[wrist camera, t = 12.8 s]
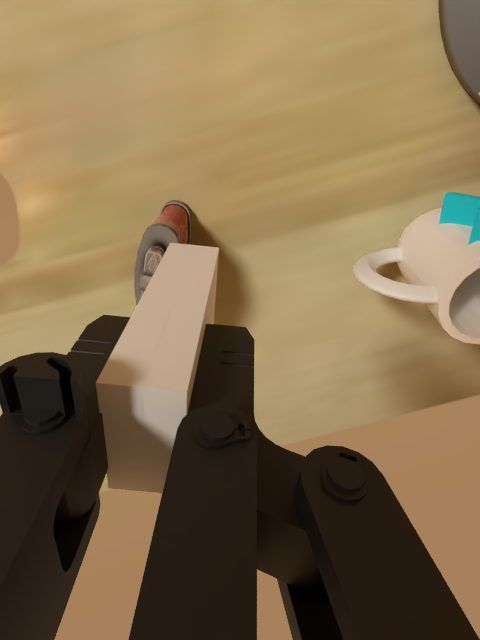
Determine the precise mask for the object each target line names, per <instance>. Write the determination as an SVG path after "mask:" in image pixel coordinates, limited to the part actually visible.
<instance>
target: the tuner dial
mask: <svg viewBox="0 0 480 640" xmlns="http://www.w3.org/2000/svg"><path fill="white" fill-rule="evenodd" d="M439 19H440V28H441V35H442V40H443V44H444V48H445V52H446V55H447V58H448V60H449V63H450V65H451V68H452V70H453V72H454V74H455V75H456V77H457V79H458V80H459V82H460V84H461V85H462V86H463V88H464V89H465V90H466V91H467V92H468V94H469V95H470V96H471V97H472V98H473V99H474V100H476V101H477V102H478V103H479V104H480V0H439Z"/></svg>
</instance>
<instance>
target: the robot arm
mask: <svg viewBox="0 0 480 640" xmlns="http://www.w3.org/2000/svg"><path fill="white" fill-rule="evenodd" d="M218 257H219V248H217V247H208V246H198V245H188V244H178V243H170V244H169V246H168V248H167V250H166V252H165V254H164V256H163V257H162V259H161V261H160V263H159V265H158V267H157V269H156V271H155V272H154V274H153V276H152V278H151V280H150V282H149V284H148V286H147V287H146V289H145V291H144V293H143V295H142V297H141V299H140V301H139V302H138V304H137V306H136V308H135V310H134V312H133V314H132V316H131V318H130V317H120V316H110V315H103V316H101V317H100V318H98V319H96V320H95V321H93V322H92V323H90V324H89V325H87V327H86V328H85V330H84V331H83V333H82V334H81V335H80V337H79V340H78V341H76V343H75V344H74V346H73V347H72V348H71V352H69V353H68V354H67V355H63V354H58V353H54V352H48V353H34V354H29V355H25V356H20V357H18V358H15V359H13V360H11V361H9V362H7V363H4V364H3V365H2V366H0V405H1V408H2V411H3V414H2V415H1V416H0V640H54V639H55V636H56V633H57V630H58V627H59V625H60V622H61V619H62V616H63V613H64V611H65V608H66V605H67V602H68V600H69V597H70V594H71V591H72V589H73V585H74V583H75V580H76V577H77V575H78V572H79V569H80V566H81V564H82V561H83V558H84V555H85V552H86V550H87V547H88V544H89V541H90V538H91V536H92V533H93V530H94V527H95V524H96V522H97V519H98V516H99V510H100V499H99V490H100V488H101V485H102V483H103V480H104V477H105V475H106V472H107V478H108V486H109V488H113V489H125V490H136V491H147V492H158V493H162V497H161V502H160V506H159V510H158V515H157V519H156V523H155V528H154V532H153V536H152V541H151V545H150V549H149V554H148V558H147V562H146V567H145V571H144V575H143V580H142V584H141V588H140V593H139V597H138V601H137V606H136V610H135V614H134V619H133V623H132V627H131V632H130V636H129V640H257V569H258V570H260V571H262V572H264V573H266V574H269V575H271V576H273V577H275V578H277V580H278V584H279V588H280V592H281V596H282V599H283V603H284V607H285V611H286V615H287V619H288V623H289V626H290V630H291V634H292V638H293V640H480V639H479V638H478V636H477V634H476V633H475V631H474V629H473V627H472V626H471V624H470V622H469V621H468V619H467V617H466V615H465V614H464V612H463V610H462V609H461V607H460V605H459V604H458V602H457V600H456V598H455V597H454V595H453V594H452V592H451V590H450V588H449V587H448V585H447V583H446V581H445V580H444V578H443V576H442V575H441V573H440V571H439V570H438V568H437V566H436V565H435V563H434V561H433V559H432V558H431V556H430V554H429V552H428V551H427V549H426V548H425V546H424V544H423V542H422V541H421V539H420V537H419V535H418V534H417V532H416V530H415V529H414V527H413V525H412V524H411V522H410V520H409V518H408V517H407V515H406V513H405V512H404V510H403V508H402V507H401V505H400V503H399V501H398V500H397V498H396V496H395V495H394V493H393V491H392V490H391V488H390V486H389V485H388V483H387V481H386V479H385V478H384V476H383V475H382V473H381V472H380V471H379V470H378V468H377V467H376V466H375V465H374V464H373V462H371V461H370V460H369V459H367V458H366V457H364V456H363V455H361V454H360V453H359V452H356V451H353V450H350V449H348V448H345V447H342V446H324V447H320V448H317V449H314V450H313V451H311V452H310V453H309V454H308V455H307V456H306V457H305V456H302V455H299V454H297V453H294V452H291V451H289V450H286V449H284V448H282V447H280V446H278V445H276V444H274V443H273V442H272V441H270V440H269V439H268V438H266V437H265V436H264V435H263V433H262V432H261V431H260V430H259V428H258V426H257V424H256V422H255V418H254V339H253V337H252V336H251V334H250V333H249V331H248V330H247V328H246V327H236V326H226V325H216V324H214V313H215V299H216V285H217V271H218Z"/></svg>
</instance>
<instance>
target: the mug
mask: <svg viewBox="0 0 480 640" xmlns="http://www.w3.org/2000/svg"><path fill="white" fill-rule="evenodd" d="M392 262H397V264H398V267H399V269H400V271H401V273H402V275H403V276H404V277H405V279H406V280H407V281H408V283H409V284H405V283H401V282H397V281H393V280H391V279H388V278H385V277H383V276H381V275H379V274H378V273H377V272H376V270H377V268H378V267H380V266H382V265H384V264H387V263H392ZM353 272H354V276H355V277H356V278H357V279H358V281H359V282H360V283H361V284H363V285H364V286H366V287H367V288H369V289H370V290H372V291H374V292H377V293H379V294H382V295H384V296H387V297H391V298H395V299H398V300H402V301H408V302H415V303H424V304H425V305H426V306H427V308H428V309H429V310H430V312H431V313H432V314H433V316H434V317H435V318H436V319H437V321H438V322H439V323H440V325H441V326H442V327H443V328H444V330H445V331H446V332H447V333H448V334H449V335H450V336H451V337H453V338H455V339H457V340H460V341H462V342H464V343H472V344H480V197H476V196H471V195H465V194H460V193H445V196H444V201H443V206H442V208H438V209H434V210H430V211H428V212H426V213H423V214H422V215H420V216H418V217H417V218H415V219H414V220H413V221H412V222H411V223H410V224H409V225H408V226H407V227H406V228H405V230H404V231H403V233H402V234H401V236H400V239H399V241H398V245H397V247H395V248H386V249H381V250H376V251H373V252H371V253H368V254H365V255H363V256H362V257H361V258H359V259H358V260H357V261H356V262H355V264H354V266H353Z"/></svg>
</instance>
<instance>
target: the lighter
mask: <svg viewBox="0 0 480 640" xmlns="http://www.w3.org/2000/svg"><path fill="white" fill-rule="evenodd" d="M191 235H192V218H191V210H190V208H189V207H188V205H186V204H185V203H184V202H182V201H179V200H172V201H169V202H167V203H166V204H165V205H164V206H163V208H162V210H161V212H160V216H159V217H158V219H157V220H156V221H155V223H154V224H152V225H150V226H149V227H148V228H147V229H146V231H145V232H144V234H143V237H142V240H141V243H140V247H139V250H138V254H137V260H136V266H135V296H136V304H138V302H139V301H140V299H141V297H142V295H143V293H144V291H145V289H146V287H147V286H148V284H149V282H150V280H151V278H152V276H153V274H154V272H155V271H156V269H157V267H158V265H159V263H160V261H161V259H162V257H163V256H164V254H165V252H166V250H167V248H168V246H169V244H170V243H178V244H188V245H191Z"/></svg>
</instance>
